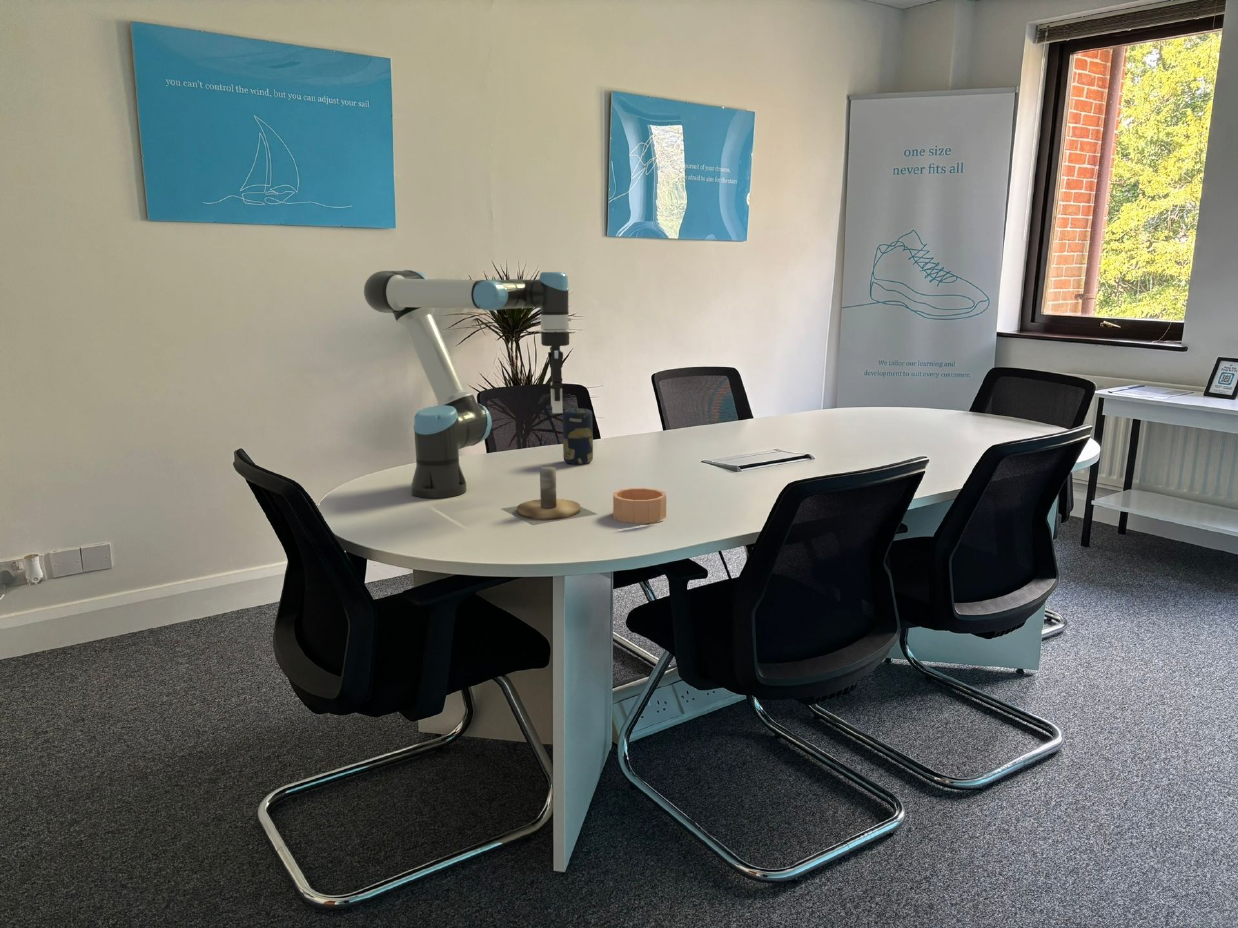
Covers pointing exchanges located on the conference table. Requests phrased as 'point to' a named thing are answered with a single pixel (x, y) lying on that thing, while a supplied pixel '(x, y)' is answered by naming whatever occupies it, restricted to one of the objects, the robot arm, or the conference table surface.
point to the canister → (577, 436)
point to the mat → (535, 521)
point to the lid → (548, 500)
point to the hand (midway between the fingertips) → (556, 409)
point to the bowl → (639, 505)
